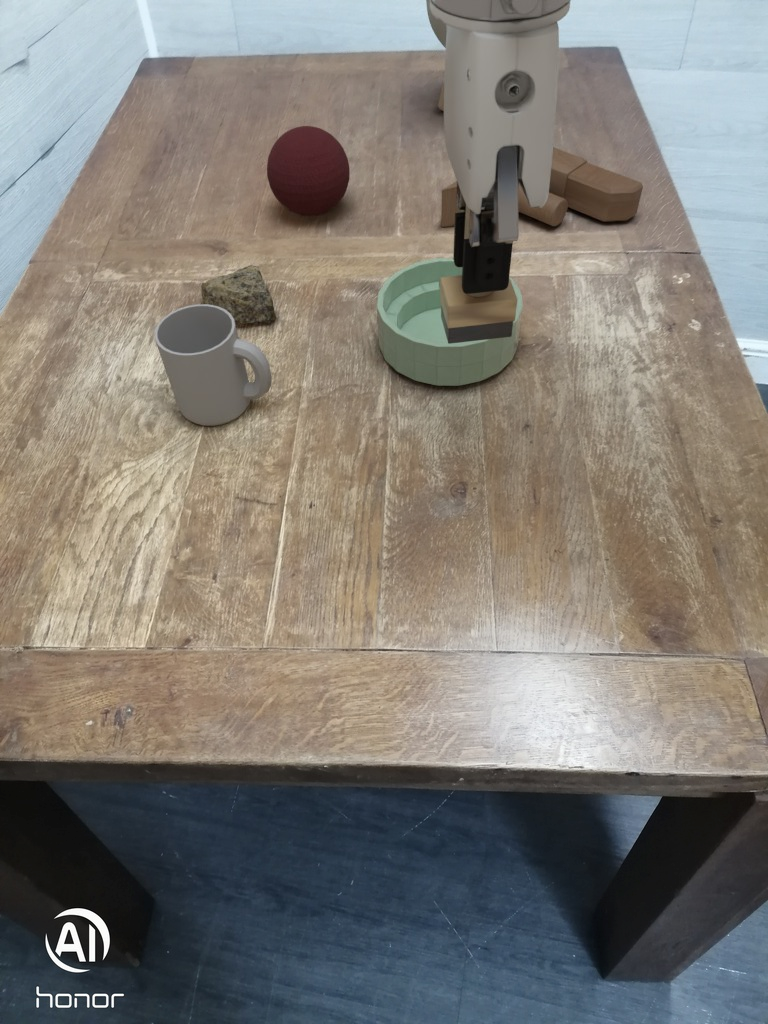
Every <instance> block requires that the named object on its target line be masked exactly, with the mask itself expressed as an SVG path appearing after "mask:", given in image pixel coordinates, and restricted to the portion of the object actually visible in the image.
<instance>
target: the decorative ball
mask: <svg viewBox="0 0 768 1024" xmlns="http://www.w3.org/2000/svg"><path fill="white" fill-rule="evenodd" d="M350 174H351V173H350V164H349V159H348V156H347V153H346V151H345V149H344V147H343V145H342V144H341V143H340V141H339V140H338V139H337V138H336V137H335V136H334V135H332V134H331V133H330V132H328V131H327V130H325V129H323V128H320V127H316V126H312V125H301V126H297V127H293V128H291V129H289V130H287V131H285V132H284V133H283V134H282V135H280V136H279V137H278V138H277V139H276V140H275V142H274V143H273V145H272V147H271V149H270V152H269V154H268V156H267V164H266V178H267V181H268V185H269V187H270V190H271V192H272V194H273V196H274V197H275V198H276V200H277V201H278V202H279V204H280V205H282V207H284V208H285V209H286V210H288V211H289V212H292V213H294V214H296V215H299V216H304V217H315V216H320V215H321V216H322V215H325V214H326V213H328V212H330V211H331V210H332V209H334V208H335V207H336V206H337V205H339V203H340V202H341V201H342V199H343V198H344V196H345V194H346V192H347V189H348V186H349V182H350Z"/></svg>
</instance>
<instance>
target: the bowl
mask: <svg viewBox="0 0 768 1024" xmlns="http://www.w3.org/2000/svg"><path fill="white" fill-rule="evenodd" d="M462 268H463V267H456V266H455V264H454V260H453V257H435V258H430V259H426V260H421V261H420V260H419V261H417V262H414V263H412V264H410V265H407V266H405V267H402V268H400V269H398V270H397V271H396V272H395V273H394V274H392V275H391V276H390V277H388V278H387V279H386V280H385V282H384V283H383V284H382V286H381V288H380V289H379V291H378V293H377V300H376V314H377V315H376V317H377V334H378V347H379V349H380V352H381V354H382V356H383V359H384V360H385V361H386V363H388V364H389V365H390V366H391V367H392V368H393V369H394V370H395V371H396V372H397V373H399V374H401V375H403V376H405V377H407V378H409V379H411V380H413V381H415V382H420V383H424V384H429V385H433V386H439V387H441V386H446V387H447V386H448V387H449V386H450V387H451V386H452V387H455V386H457V387H459V386H463V385H468V384H474V383H478V382H481V381H482V382H483V381H484V380H486V379H489V378H490V377H492V376H494V375H496V374H499V373H500V372H502V370H503V369H505V367H506V366H507V365H508V364H510V362H512V361H513V359H514V357H515V354H516V352H517V349H518V347H519V340H520V332H521V324H522V316H523V315H522V314H523V309H524V307H523V306H524V305H523V296H522V294H523V293H522V291H521V290H520V288H519V287H518V285H517V283H516V282H515V280H514V279H513V278H512V277H510V276H509V278H510V280H511V283H512V285H513V288H514V291H515V293H516V296H517V298H518V300H517V309H516V317H515V321H513V328H512V336H511V337H505V338H496V339H487V340H478V341H469V342H460V343H451V344H449V343H448V340H447V337H446V333H445V330H444V326H443V322H442V319H441V302H440V278H441V277H450V276H459V275H462Z"/></svg>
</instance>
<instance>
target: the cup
mask: <svg viewBox="0 0 768 1024" xmlns="http://www.w3.org/2000/svg"><path fill="white" fill-rule="evenodd" d="M154 341H155V344H156V347H157V350H158V353H159V355H160V359H161V362H162V364H163V368H164V370H165V373H166V376H167V379H168V382H169V385H170V387H171V391H172V394H173V396H174V399H175V403H176V404H177V407H178V409H179V411H180V413H181V415H182V416H183V417H184V418H185V419H186V420H188V421H190V422H192V423H194V424H196V425H199V426H204V427H215V426H220V425H225V424H227V423H231V422H232V421H234V420H236V419H237V418H239V417H240V416H241V415H242V414H243V413H244V412H245V411H246V409H247V408H248V406H249V404H250V403H251V400H257V399H260V398H261V397H263V396H264V395H266V394H267V393H268V392H269V391H270V389H271V387H272V379H273V378H272V372H271V367H270V363H269V361H268V358H267V356H266V355H265V353H264V352H263V351H262V350H261V348H260V347H258V346H257V345H256V344H255V343H253V342H251V341H248V340H246V339H241V338H239V334H238V329H237V326H236V321H235V320H234V318H233V317H232V315H231V314H230V313H229V312H228V311H227V310H225V309H223V308H221V307H218V306H214V305H209V304H204V303H203V304H202V303H199V304H190V305H186V306H183V307H180V308H177V309H175V310H173V311H171V312H170V313H168V314H166V315H165V316H164V317H163V318H162V319H161V320H160V321H159V322H158V324H157V325H156V327H155V330H154ZM245 361H247V362H248V364H249V365H250V367H251V369H252V371H253V374H254V381H250V380H249V377H248V373H247V368H246V363H245Z"/></svg>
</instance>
